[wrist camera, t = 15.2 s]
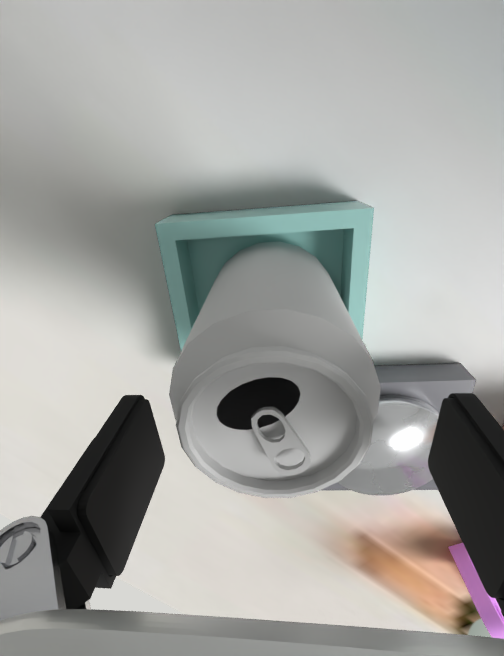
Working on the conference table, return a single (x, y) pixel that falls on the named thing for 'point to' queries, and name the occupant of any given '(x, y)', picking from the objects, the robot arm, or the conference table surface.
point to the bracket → (478, 592)
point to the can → (274, 378)
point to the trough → (258, 227)
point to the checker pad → (396, 448)
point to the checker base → (422, 389)
